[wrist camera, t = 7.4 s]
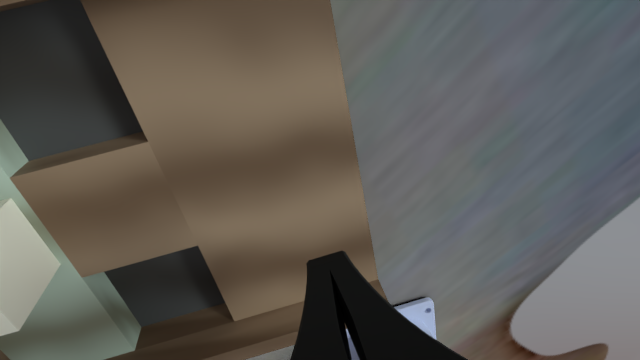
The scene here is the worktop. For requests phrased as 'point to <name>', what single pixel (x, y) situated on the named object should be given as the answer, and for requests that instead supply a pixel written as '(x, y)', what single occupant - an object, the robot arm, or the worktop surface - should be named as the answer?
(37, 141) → the box
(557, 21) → the worktop surface
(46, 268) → the cream cube
